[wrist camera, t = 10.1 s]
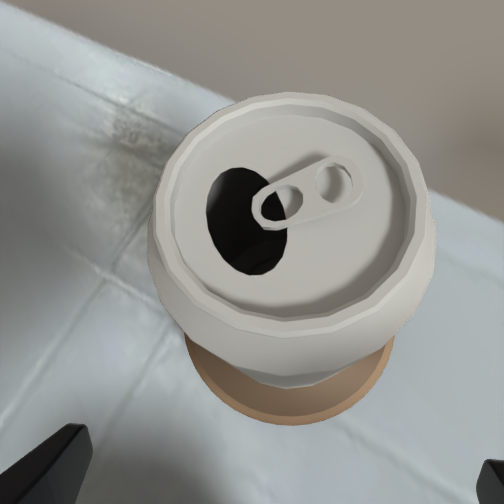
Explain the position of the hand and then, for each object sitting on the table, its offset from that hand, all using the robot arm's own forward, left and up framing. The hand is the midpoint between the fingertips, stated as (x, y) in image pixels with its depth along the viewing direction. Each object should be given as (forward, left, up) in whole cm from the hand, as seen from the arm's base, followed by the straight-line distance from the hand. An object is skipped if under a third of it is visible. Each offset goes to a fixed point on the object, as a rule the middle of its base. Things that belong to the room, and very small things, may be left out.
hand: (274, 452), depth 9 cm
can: (+5, -1, -10) cm, 11 cm away
